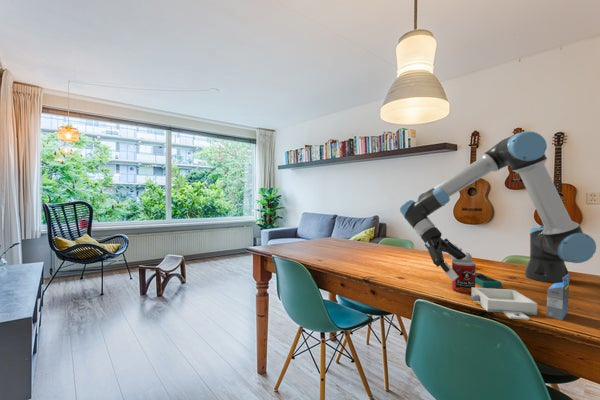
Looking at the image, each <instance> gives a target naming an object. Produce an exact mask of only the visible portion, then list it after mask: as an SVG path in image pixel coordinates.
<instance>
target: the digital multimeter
mask: <svg viewBox="0 0 600 400" xmlns="http://www.w3.org/2000/svg"><path fill="white" fill-rule="evenodd" d="M475 285H478V286H479V287H481V288H492V289H503V287H502V285H503V283H502V282H501V281H499V280H497V279H494V278H492V277H490V276H488V275H485V274H483V273H481V272H475Z"/></svg>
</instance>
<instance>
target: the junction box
mask: <svg viewBox="0 0 600 400" xmlns="http://www.w3.org/2000/svg"><path fill="white" fill-rule="evenodd" d="M470 295H471V298H470V299H471V301H472V302H476V303H477V302H478V303H477V304H479V305H480V306H481V307H482V308H483V309H484V310H486V312H488V313H489V312H491V313H492V312H493V313H503V314H504V315H505V316H506V317H508V318H509V319H512V320H513V319H514V320H524V321H525V320H526V321H530V317H529V316H527V315H531V316H538V303H537V302H536V301H534V299H533V298H531V297H528V296H527V297H526V296H525V295H523V294H522V293H520V292H519V291H517V290H515V289H507V288H505V289H504V288H485V287H476V286H475V287H472V291H471V294H470Z"/></svg>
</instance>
